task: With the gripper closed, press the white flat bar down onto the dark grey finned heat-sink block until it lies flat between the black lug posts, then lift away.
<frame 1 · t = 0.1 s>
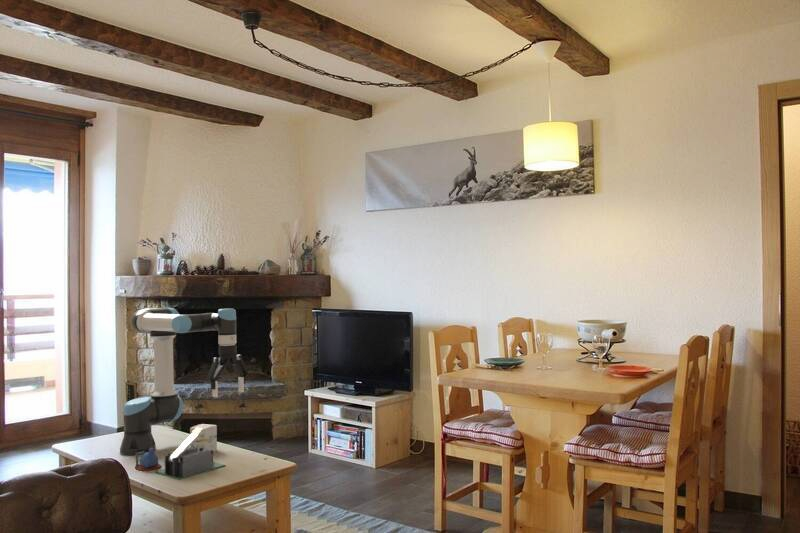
hand: (228, 394, 280), 28 cm above the table, fingers open, 13 cm apart
model: (147, 468, 271), on the table
heatsink base: (189, 470, 265), on the table
white flat bar: (185, 445, 264), point 11 cm above the table, hinge at 35.0°
ink box: (203, 452, 295), on the table
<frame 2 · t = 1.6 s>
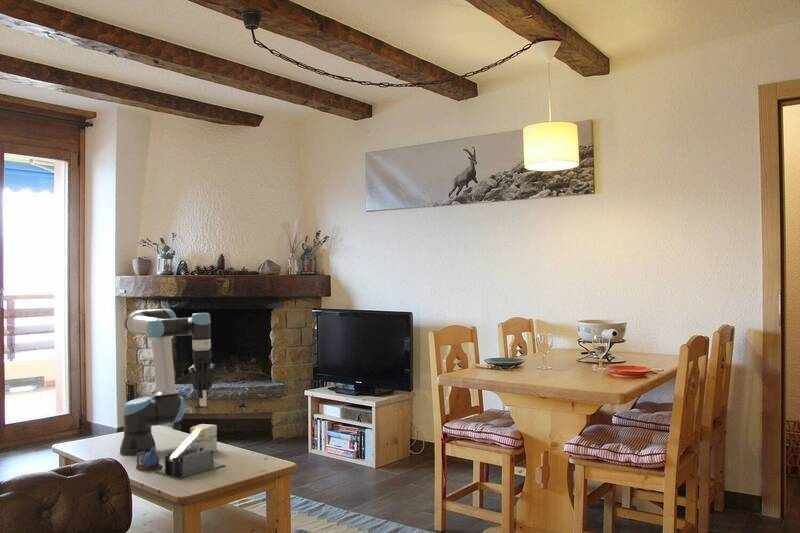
hand: (203, 405, 276), 24 cm above the table, fingers closed
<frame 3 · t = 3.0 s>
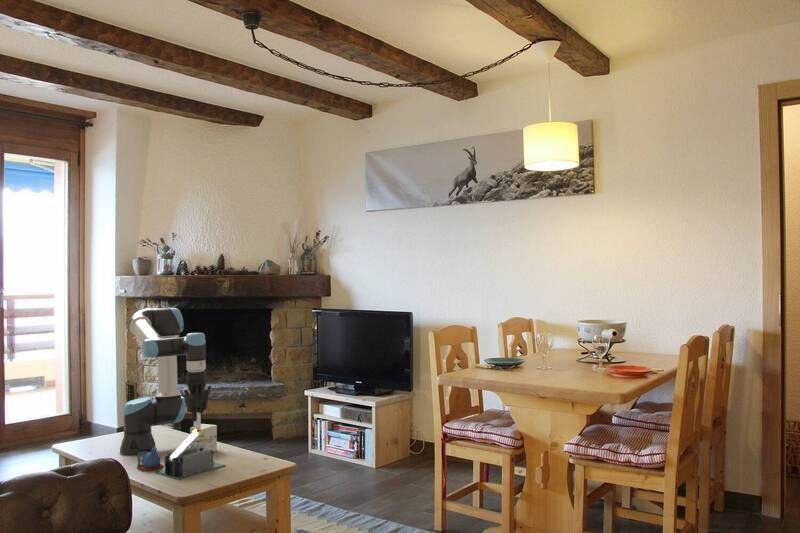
hand: (197, 428, 268), 16 cm above the table, fingers closed
white flat bar: (185, 445, 264), point 11 cm above the table, hinge at 35.0°, touching gripper
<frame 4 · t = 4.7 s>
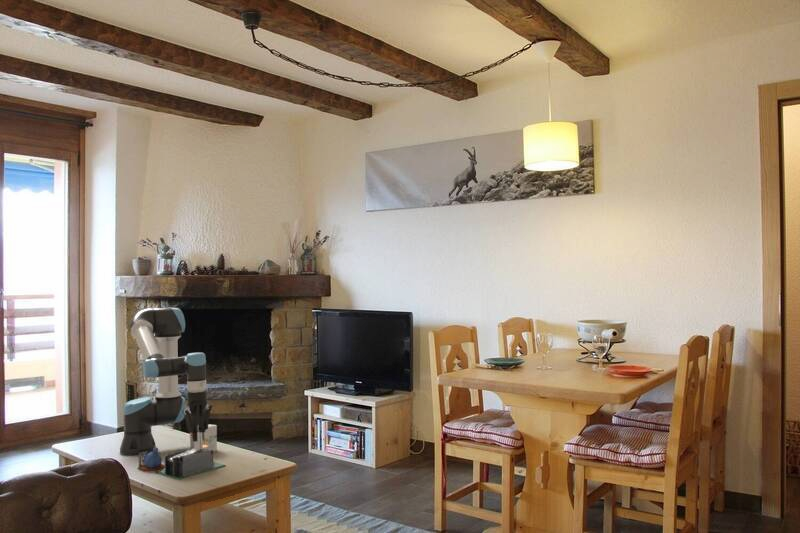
hand: (198, 448, 268), 8 cm above the table, fingers closed, pressing on white flat bar
white flat bar: (188, 453, 265), point 7 cm above the table, hinge at 5.6°, touching gripper
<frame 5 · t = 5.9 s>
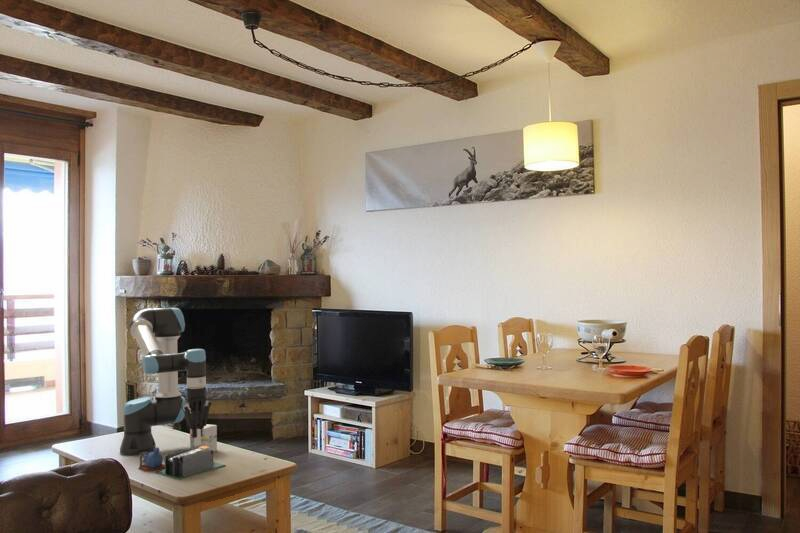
hand: (197, 444, 268), 10 cm above the table, fingers closed
white flat bar: (188, 454, 265), point 7 cm above the table, hinge at 4.1°
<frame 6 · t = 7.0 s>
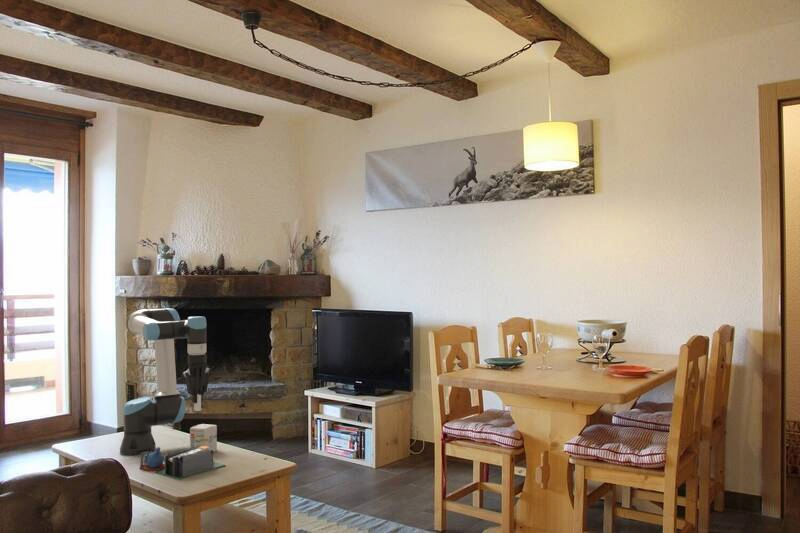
hand: (197, 410, 273), 23 cm above the table, fingers closed
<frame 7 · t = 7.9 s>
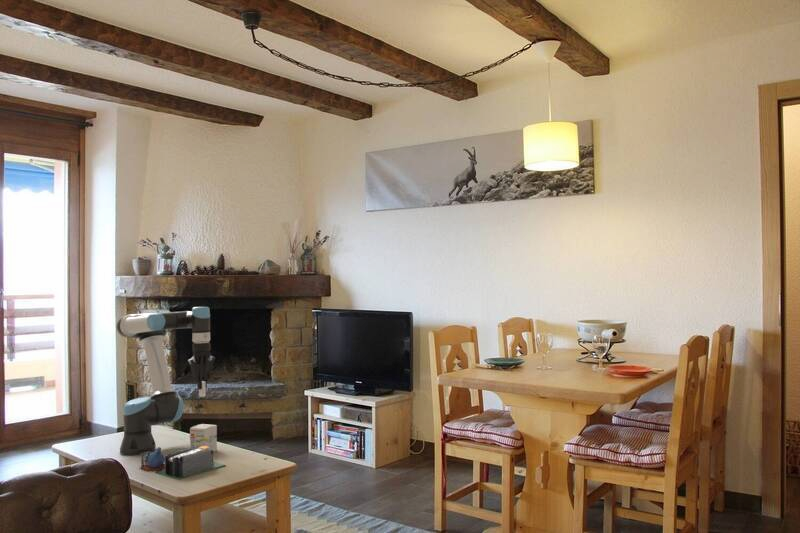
hand: (202, 396, 286), 26 cm above the table, fingers closed
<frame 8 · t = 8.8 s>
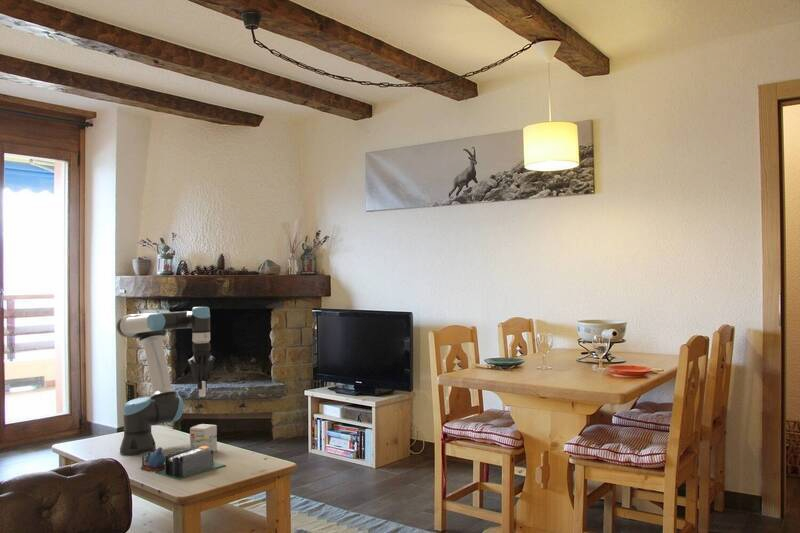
hand: (202, 396, 286), 26 cm above the table, fingers closed
at the end: white flat bar at +4° (first picture: +35°) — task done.
